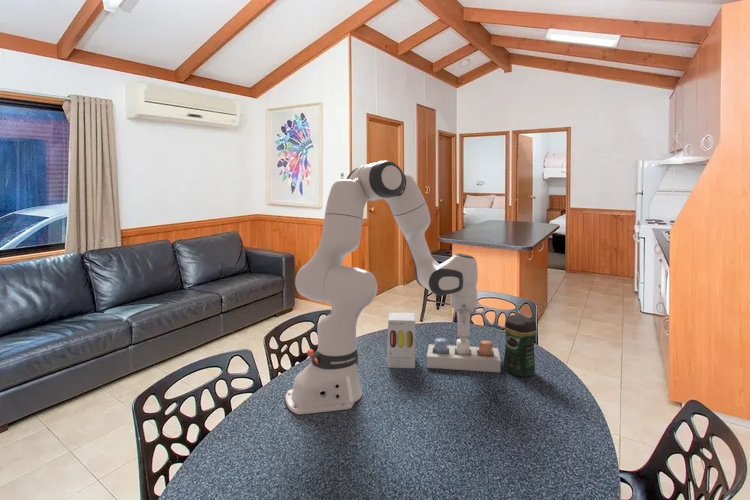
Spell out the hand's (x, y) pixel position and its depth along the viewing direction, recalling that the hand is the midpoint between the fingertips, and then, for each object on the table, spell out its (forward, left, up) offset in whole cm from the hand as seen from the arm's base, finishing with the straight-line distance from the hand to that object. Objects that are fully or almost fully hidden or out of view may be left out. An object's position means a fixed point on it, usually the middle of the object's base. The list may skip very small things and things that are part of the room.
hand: (463, 340), depth 150 cm
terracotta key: (+6, -4, -4) cm, 9 cm away
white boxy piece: (0, 0, -8) cm, 8 cm away
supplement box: (-19, +9, -8) cm, 23 cm away
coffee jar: (+13, -13, -8) cm, 20 cm away
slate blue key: (-6, +4, -4) cm, 9 cm away
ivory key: (0, 0, -4) cm, 4 cm away
